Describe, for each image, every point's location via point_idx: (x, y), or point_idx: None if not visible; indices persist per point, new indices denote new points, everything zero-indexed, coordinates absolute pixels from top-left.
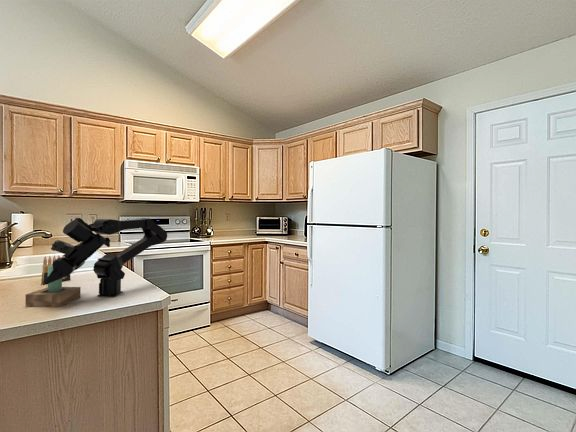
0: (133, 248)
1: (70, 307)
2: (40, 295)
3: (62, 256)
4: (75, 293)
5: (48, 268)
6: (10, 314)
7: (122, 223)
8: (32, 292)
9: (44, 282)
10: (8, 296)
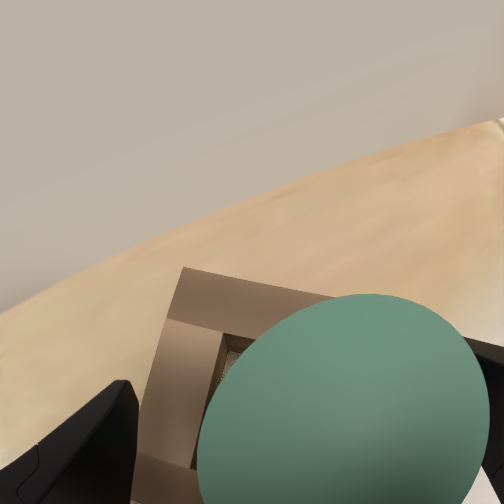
0: None
1: None
2: (153, 369)
3: None
4: None
5: (243, 358)
6: (77, 292)
7: None
8: (236, 284)
9: (115, 385)
10: (383, 160)
